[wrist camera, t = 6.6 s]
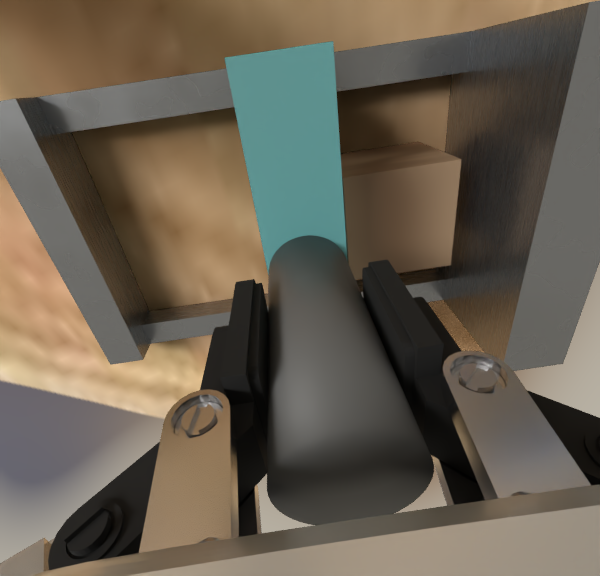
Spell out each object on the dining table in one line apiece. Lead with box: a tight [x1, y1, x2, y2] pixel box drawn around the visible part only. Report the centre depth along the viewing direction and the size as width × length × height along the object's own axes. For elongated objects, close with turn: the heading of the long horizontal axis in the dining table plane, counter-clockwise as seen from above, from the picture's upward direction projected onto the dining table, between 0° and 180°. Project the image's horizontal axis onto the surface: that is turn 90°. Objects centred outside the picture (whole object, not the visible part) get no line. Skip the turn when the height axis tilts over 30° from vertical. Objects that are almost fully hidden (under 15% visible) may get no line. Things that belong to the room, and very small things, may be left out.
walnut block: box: [341, 142, 462, 280], centre depth 18 cm, size 5×5×5 cm
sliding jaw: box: [225, 41, 434, 525], centre depth 12 cm, size 3×14×14 cm, turn 7°
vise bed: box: [0, 1, 600, 371], centre depth 16 cm, size 24×14×8 cm, turn 97°
